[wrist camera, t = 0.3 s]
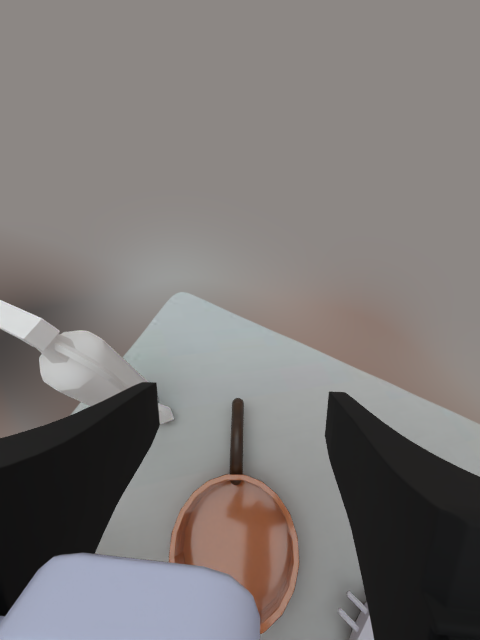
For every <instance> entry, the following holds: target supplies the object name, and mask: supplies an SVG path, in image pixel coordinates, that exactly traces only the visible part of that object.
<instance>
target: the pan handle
mask: <svg viewBox="0 0 480 640" xmlns="http://www.w3.org/2000/svg"><path fill="white" fill-rule="evenodd" d="M243 416H244V403H243V400H242V399H240V398H236V399H234V400H233V402H232V423H231V450H230V474H235V475H243ZM230 482H231V483H232V484H233V485H239V484H240V483H241V482H242V481H240V480H230Z"/></svg>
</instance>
